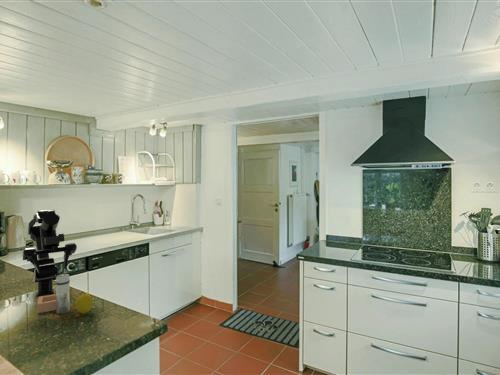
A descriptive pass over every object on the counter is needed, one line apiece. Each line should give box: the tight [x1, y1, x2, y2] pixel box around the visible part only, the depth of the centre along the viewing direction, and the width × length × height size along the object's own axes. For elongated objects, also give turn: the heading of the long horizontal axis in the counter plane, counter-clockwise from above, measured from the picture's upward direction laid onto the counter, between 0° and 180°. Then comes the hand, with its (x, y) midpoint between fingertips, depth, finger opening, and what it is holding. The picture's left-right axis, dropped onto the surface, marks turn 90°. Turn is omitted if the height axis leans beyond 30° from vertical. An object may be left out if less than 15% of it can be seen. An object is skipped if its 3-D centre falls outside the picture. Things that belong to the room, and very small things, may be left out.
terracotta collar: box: [36, 293, 56, 314], centre depth 124 cm, size 9×9×4 cm
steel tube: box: [55, 273, 71, 315], centre depth 119 cm, size 5×5×14 cm
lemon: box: [75, 292, 94, 315], centre depth 116 cm, size 6×6×8 cm
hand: (52, 270), depth 126 cm, fingers open, 9 cm apart
